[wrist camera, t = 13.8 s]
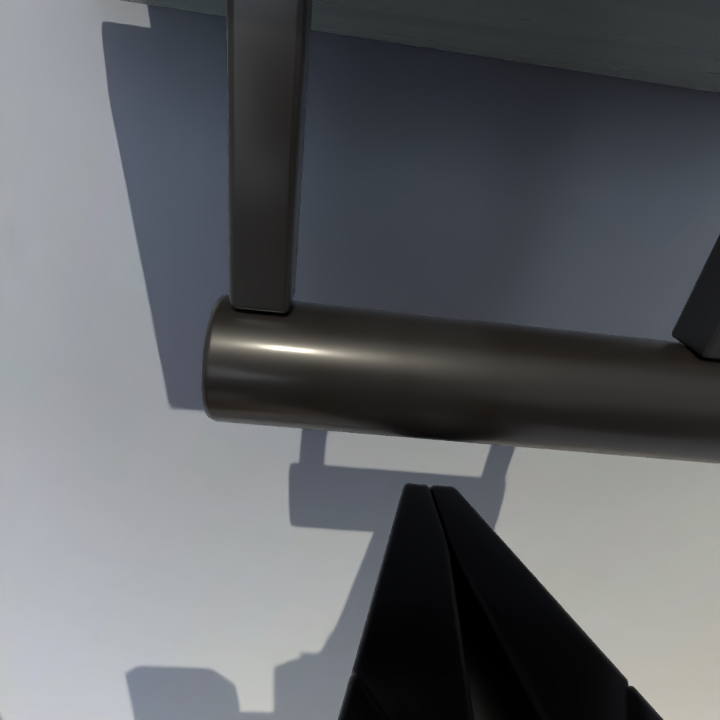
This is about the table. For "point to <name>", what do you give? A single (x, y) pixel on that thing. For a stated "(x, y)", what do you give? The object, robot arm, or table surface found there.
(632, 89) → the table surface
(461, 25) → the drawer
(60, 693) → the table surface
